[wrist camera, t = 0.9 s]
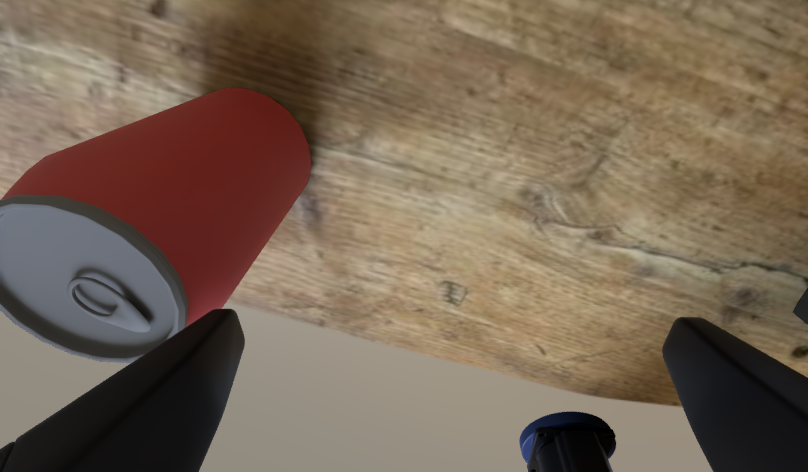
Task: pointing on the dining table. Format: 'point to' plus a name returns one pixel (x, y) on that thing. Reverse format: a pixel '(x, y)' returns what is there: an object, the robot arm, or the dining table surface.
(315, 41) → the dining table surface
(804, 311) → the block
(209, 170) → the beer can
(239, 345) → the robot arm
